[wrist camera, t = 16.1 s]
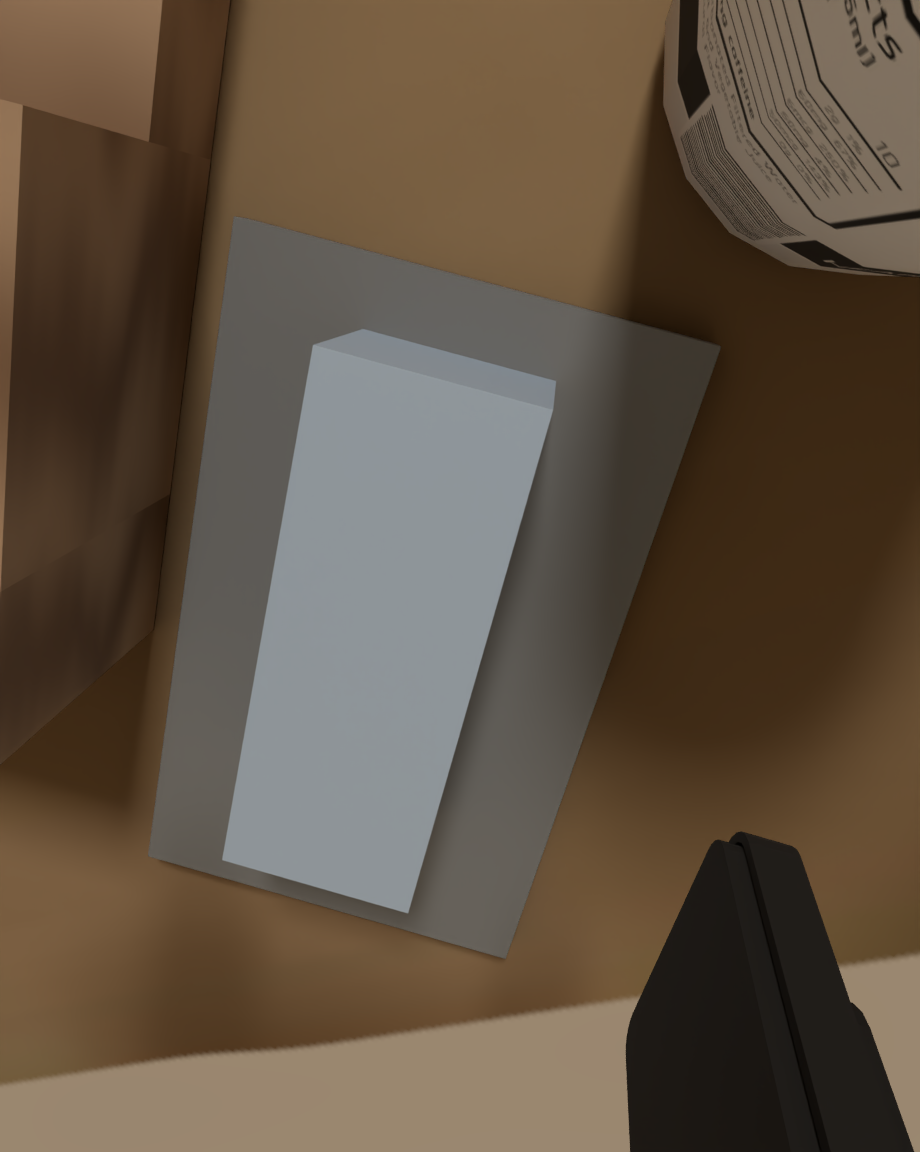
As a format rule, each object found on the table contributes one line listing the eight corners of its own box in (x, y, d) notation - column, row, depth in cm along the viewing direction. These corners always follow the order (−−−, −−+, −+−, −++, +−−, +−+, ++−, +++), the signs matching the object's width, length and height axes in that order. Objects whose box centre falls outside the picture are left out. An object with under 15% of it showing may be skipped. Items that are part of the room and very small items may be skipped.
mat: (715, 343, 19) (721, 346, 18) (507, 938, 26) (505, 959, 25) (246, 218, 19) (233, 216, 18) (160, 838, 26) (148, 856, 25)
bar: (363, 328, 19) (313, 345, 15) (555, 380, 19) (552, 410, 15) (277, 765, 23) (222, 860, 20) (433, 809, 23) (408, 913, 20)
